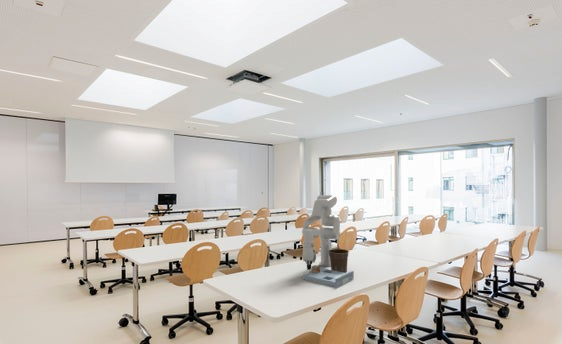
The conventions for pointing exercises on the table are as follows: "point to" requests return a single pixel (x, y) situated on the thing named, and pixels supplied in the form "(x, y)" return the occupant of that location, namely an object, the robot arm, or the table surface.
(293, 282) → the table surface
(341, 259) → the plant pot
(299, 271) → the table surface
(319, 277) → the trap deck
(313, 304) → the table surface
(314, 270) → the walnut cube
